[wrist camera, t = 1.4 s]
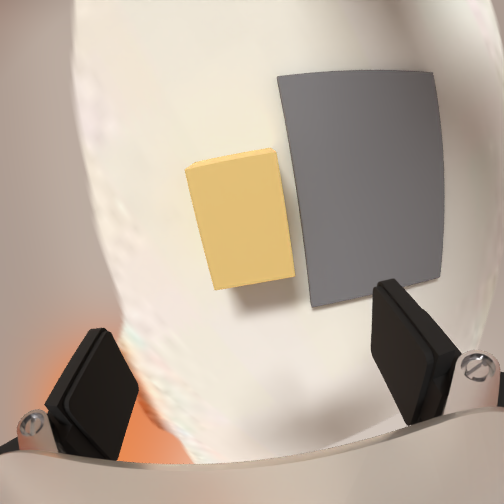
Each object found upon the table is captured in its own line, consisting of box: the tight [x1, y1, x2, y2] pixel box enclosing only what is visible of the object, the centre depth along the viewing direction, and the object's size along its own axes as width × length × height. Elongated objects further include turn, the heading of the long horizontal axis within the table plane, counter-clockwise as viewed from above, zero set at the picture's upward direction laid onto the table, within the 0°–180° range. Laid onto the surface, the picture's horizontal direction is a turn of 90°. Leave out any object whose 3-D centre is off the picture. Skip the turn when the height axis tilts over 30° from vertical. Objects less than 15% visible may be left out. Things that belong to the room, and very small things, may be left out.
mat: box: [277, 70, 444, 307], centre depth 24 cm, size 20×14×1 cm
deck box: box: [185, 148, 295, 290], centre depth 23 cm, size 9×6×4 cm, turn 10°
